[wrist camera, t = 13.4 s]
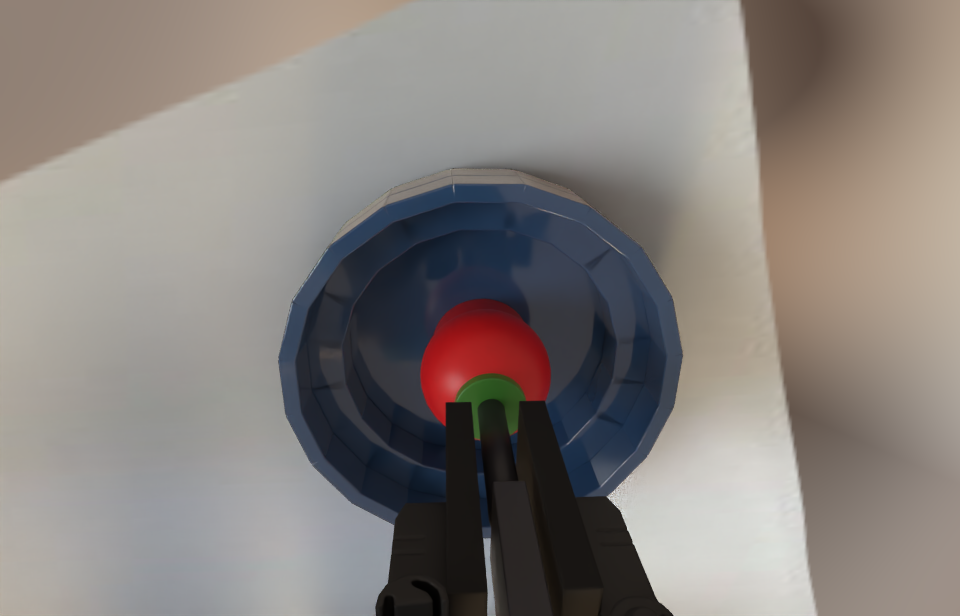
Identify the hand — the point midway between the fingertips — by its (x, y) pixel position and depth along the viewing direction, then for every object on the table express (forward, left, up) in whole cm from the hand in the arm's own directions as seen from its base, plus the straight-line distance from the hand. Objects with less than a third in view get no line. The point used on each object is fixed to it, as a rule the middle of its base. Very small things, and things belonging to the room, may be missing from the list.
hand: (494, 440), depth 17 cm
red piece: (0, 0, -7) cm, 7 cm away
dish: (0, 0, -7) cm, 7 cm away
